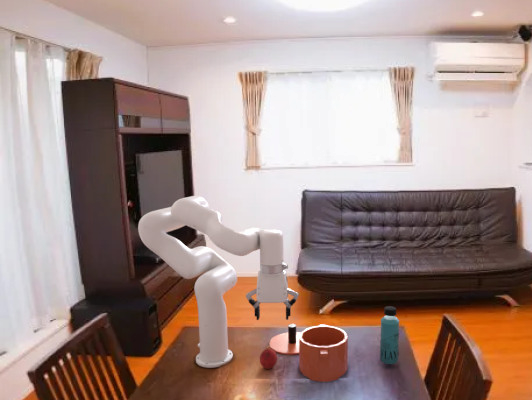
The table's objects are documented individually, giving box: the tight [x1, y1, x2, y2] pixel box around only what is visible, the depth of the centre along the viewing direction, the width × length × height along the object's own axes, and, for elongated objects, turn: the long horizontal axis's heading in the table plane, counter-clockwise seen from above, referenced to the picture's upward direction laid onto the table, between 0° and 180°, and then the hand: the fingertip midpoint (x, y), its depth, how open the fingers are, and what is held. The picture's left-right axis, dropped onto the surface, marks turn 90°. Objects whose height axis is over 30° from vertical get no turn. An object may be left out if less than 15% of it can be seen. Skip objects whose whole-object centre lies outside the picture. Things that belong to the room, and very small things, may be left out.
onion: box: [259, 345, 278, 370], centre depth 143 cm, size 6×6×8 cm
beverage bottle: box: [379, 305, 400, 365], centre depth 145 cm, size 6×7×20 cm
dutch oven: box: [298, 323, 349, 383], centre depth 143 cm, size 16×21×12 cm
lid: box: [268, 323, 302, 356], centre depth 160 cm, size 17×17×8 cm
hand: (272, 318), depth 141 cm, fingers open, 9 cm apart
